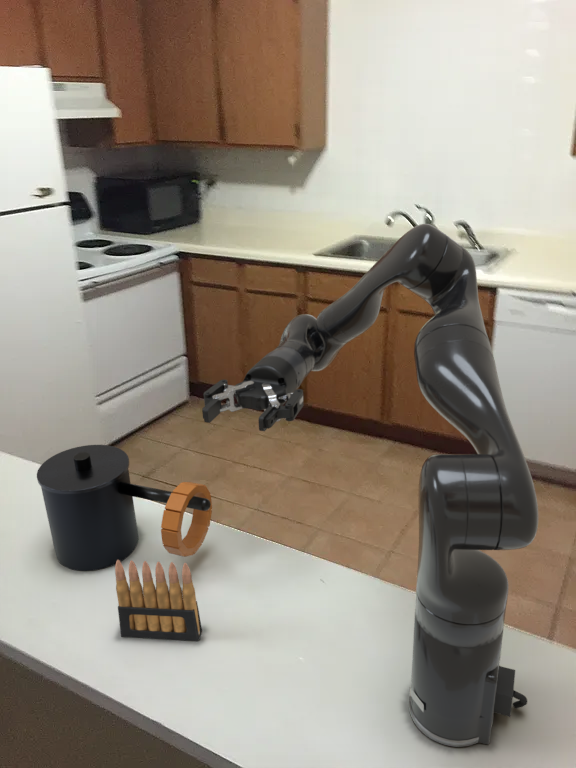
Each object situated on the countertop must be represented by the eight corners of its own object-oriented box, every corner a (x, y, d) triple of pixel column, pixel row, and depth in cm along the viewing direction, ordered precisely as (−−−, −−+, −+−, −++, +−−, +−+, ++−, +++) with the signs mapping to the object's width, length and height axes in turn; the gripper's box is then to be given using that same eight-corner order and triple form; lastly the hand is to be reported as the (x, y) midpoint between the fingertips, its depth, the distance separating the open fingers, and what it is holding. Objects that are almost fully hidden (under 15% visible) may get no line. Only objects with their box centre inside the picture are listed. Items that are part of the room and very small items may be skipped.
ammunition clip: (202, 630, 90) (194, 558, 85) (199, 641, 88) (190, 567, 83) (125, 626, 91) (113, 555, 86) (120, 636, 89) (108, 564, 84)
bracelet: (214, 530, 104) (209, 472, 100) (180, 570, 95) (174, 509, 91) (199, 526, 105) (193, 469, 101) (165, 567, 96) (157, 505, 92)
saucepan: (235, 545, 106) (228, 456, 100) (194, 602, 95) (183, 505, 88) (88, 513, 116) (73, 429, 109) (35, 561, 104) (14, 471, 98)
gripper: (234, 350, 108) (185, 390, 94) (318, 359, 103) (279, 403, 89) (237, 392, 111) (190, 437, 97) (319, 403, 106) (281, 452, 92)
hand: (233, 420), depth 93 cm, fingers open, 8 cm apart
